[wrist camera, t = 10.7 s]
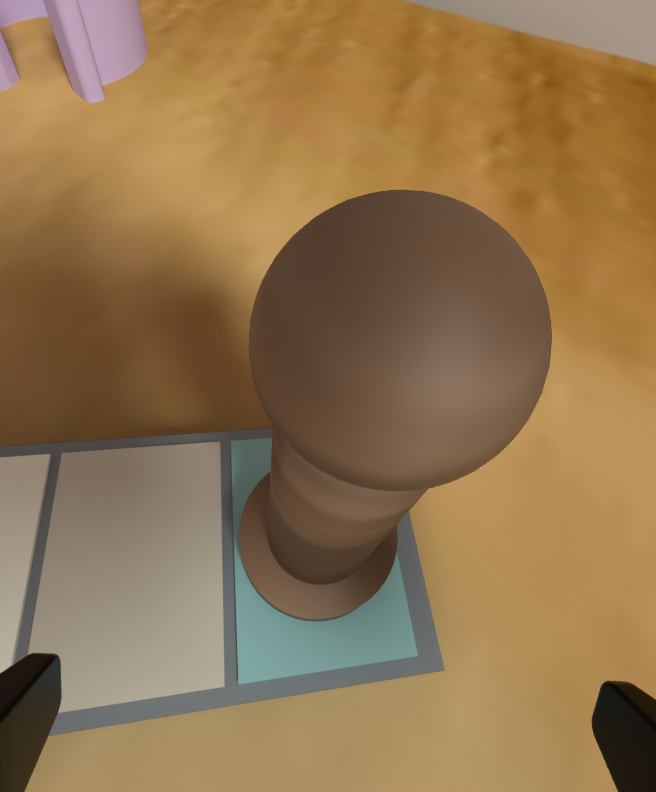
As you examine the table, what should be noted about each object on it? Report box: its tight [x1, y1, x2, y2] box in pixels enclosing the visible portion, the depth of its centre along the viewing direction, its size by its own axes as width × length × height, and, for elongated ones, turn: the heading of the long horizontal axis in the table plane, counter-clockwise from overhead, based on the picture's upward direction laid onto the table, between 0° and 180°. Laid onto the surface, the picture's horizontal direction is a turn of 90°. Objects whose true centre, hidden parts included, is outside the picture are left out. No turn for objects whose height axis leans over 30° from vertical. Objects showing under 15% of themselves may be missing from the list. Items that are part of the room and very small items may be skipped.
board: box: [0, 428, 444, 736], centre depth 16 cm, size 19×9×1 cm, turn 98°
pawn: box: [239, 190, 552, 621], centre depth 11 cm, size 5×5×13 cm
